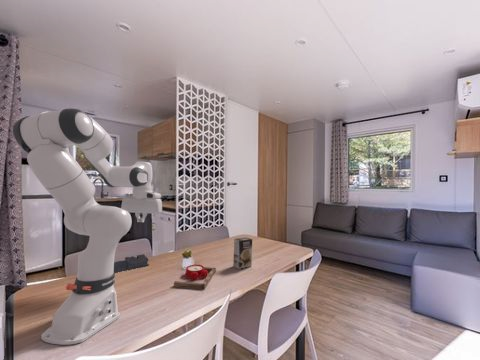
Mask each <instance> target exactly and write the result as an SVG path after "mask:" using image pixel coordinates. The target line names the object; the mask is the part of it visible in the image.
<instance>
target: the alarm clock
mask: <svg viewBox="0 0 480 360" xmlns="http://www.w3.org/2000/svg"><path fill="white" fill-rule="evenodd" d="M204 267H205V266H204V265H202V264H191V265H188V266H186V267H185V266H184V269H185V273H184V277H185V278H187V279H190V280H191V281H197V280H198V279H206V277H207V276H208V274H209V272H208V271H207V270H204Z"/></svg>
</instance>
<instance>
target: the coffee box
mask: <svg viewBox="0 0 480 360" xmlns="http://www.w3.org/2000/svg"><path fill="white" fill-rule="evenodd" d="M233 240H234V241H233V260H232V261H233V262H232V263H233V264H232V267H233V268H236V269H238V270H242V269H241V268H243V269H246V268H245V267H247V268H250V267H249V266H251V267H252V265H253V264H252V262H253V261H252V258H253V257H252V256H253V238H249V237H247V236H246V237H239V238H238V237H237V238H234V239H233Z"/></svg>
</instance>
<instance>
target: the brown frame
mask: <svg viewBox="0 0 480 360" xmlns="http://www.w3.org/2000/svg"><path fill="white" fill-rule="evenodd" d="M203 267H204V270H207V271H208V275H207V277H206V278H204V281H202V283H201V282H191V281H177V280H175V281H174V282H173V287H174V288H185V289H196V290H206V288H207V286H208V285H209V283H210V281H211V280H212V278H213V276H214V275H215V274H216V271H217V268H216V267H207V266H206V267H205V266H203Z"/></svg>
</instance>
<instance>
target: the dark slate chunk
mask: <svg viewBox="0 0 480 360" xmlns="http://www.w3.org/2000/svg"><path fill="white" fill-rule="evenodd" d="M148 261H149V258H148V257H147V256H146V255H145V254H144V253H142V254H139V255H136V256H133V255H132V256H125V257H124V260H119V261H114V272H115V274H118V272H119V273H123V272H122V271H124V272H127V270H128V271H132V269H133V270H137V269H141V268H146V267H149V266H150V263H148ZM136 268H137V269H136Z"/></svg>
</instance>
